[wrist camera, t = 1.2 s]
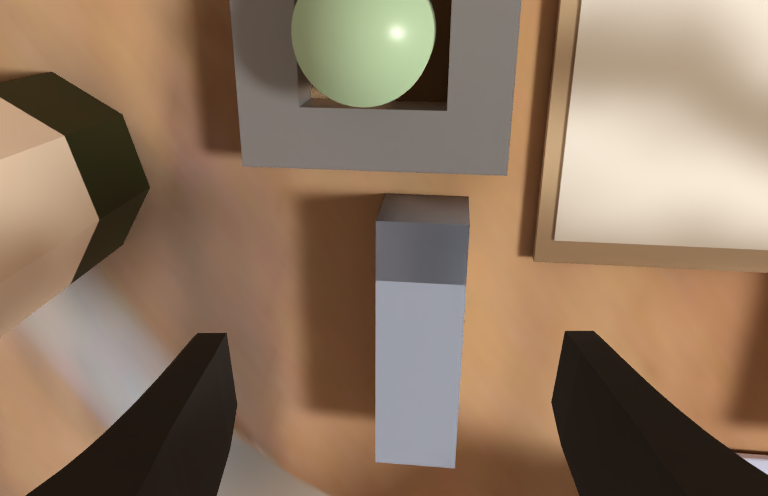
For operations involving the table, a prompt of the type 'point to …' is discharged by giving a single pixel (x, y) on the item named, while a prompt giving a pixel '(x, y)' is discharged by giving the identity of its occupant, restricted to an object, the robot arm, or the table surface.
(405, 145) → the button housing
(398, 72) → the button
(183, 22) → the table surface
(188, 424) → the robot arm
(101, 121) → the wine bottle
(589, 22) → the tan flat tray
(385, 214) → the grey rectangular bar
